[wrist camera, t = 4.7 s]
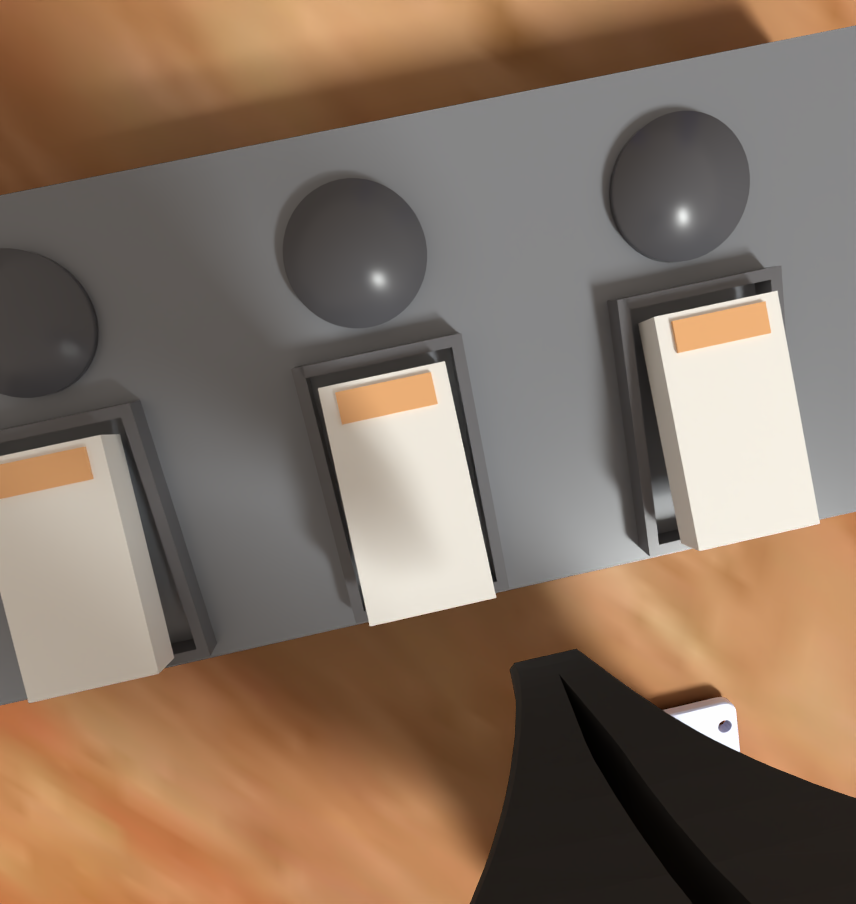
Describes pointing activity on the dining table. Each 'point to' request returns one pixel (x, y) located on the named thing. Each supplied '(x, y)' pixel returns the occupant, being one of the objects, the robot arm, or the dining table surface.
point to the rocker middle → (407, 493)
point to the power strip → (432, 319)
